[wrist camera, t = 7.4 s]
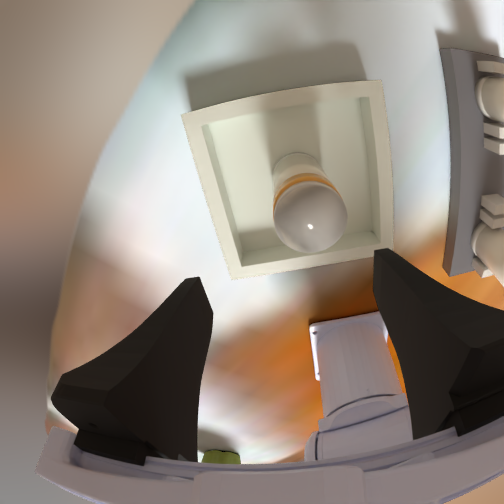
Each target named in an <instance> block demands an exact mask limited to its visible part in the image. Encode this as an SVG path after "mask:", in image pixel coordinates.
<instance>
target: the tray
mask: <svg viewBox="0 0 504 504" xmlns="http://www.w3.org/2000/svg"><path fill="white" fill-rule="evenodd" d="M181 117H182V121H183V124H184V128H185V131H186V135H187V138H188V142H189V145H190V148H191V152H192V155H193V159H194V162H195V165H196V169H197V172H198V175H199V179H200V182H201V185H202V189H203V192H204V195H205V198H206V202H207V205H208V208H209V211H210V215H211V218H212V221H213V224H214V227H215V230H216V234H217V237H218V240H219V243H220V246H221V249H222V252H223V255H224V259H225V262H226V265H227V268H228V271H229V274H230V277H231V280H236V279H242V278H249V277H255V276H262V275H268V274H274V273H281V272H287V271H293V270H299V269H305V268H311V267H317V266H323V265H329V264H335V263H340V262H346V261H352V260H357V259H363V258H369V257H374V250H378V249H384V248H389V249H391V250H392V251H393V233H394V211H393V179H392V162H391V150H390V139H389V129H388V121H387V113H386V106H385V99H384V93H383V87H382V81H381V80H368V81H353V82H342V83H332V84H323V85H315V86H307V87H300V88H294V89H288V90H282V91H276V92H271V93H265V94H260V95H255V96H251V97H246V98H242V99H237V100H233V101H229V102H225V103H221V104H217V105H213V106H209V107H206V108H202V109H199V110H195V111H192V112H188V113H185V114H182V115H181ZM292 152H303V153H307V154H309V155H311V156H313V157H314V158H315V159H316V160H317V161H318V162H319V164H320V165H321V167H322V169H323V170H324V172H325V174H326V175H327V177H328V178H329V180H330V181H331V183H332V184H333V185H334V186H335V188H336V189H337V191H338V192H339V194H340V196H341V198H342V199H343V202H344V204H345V206H346V209H347V215H348V219H347V225H346V229H345V231H344V233H343V235H342V236H341V238H340V239H339V240H338V241H337V242H336V243H335V244H334V245H332V246H331V247H329V248H327V249H325V250H322V251H319V252H313V253H305V252H299V251H296V250H294V249H292V248H290V247H288V246H287V245H285V244H284V243H283V242H282V241H281V240H280V238H279V237H278V235H277V233H276V230H275V226H274V220H273V199H274V198H273V181H272V173H273V169H274V166H275V164H276V163H277V162H278V160H279V159H280V158H282V157H283V156H285V155H286V154H289V153H292Z"/></svg>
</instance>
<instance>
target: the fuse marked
mask: <svg viewBox="0 0 504 504" xmlns="http://www.w3.org/2000/svg"><path fill="white" fill-rule="evenodd" d="M272 181H273V198H274V199H273V220H274V226H275V230H276V233H277V235H278V237H279V238H280V240H281V241H282V242H283V243H284V244H285V245H287V246H288V247H290V248H292V249H294V250H296V251H299V252H305V253H313V252H319V251H322V250H325V249H327V248H329V247H331V246H332V245H334V244H335V243H336V242H337V241H338V240H339V239H340V238H341V236H342V235H343V233H344V231H345V229H346V225H347V219H348V215H347V209H346V206H345V204H344V202H343V199H342V198H341V196H340V194H339V192H338V191H337V189H336V188H335V186H334V185H333V184H332V183H331V181H330V180H329V178H328V177H327V175H326V174H325V172H324V170H323V169H322V167H321V165H320V164H319V162H318V161H317V160H316V159H315V158H314V157H313V156H311V155H309V154H307V153H303V152H292V153H289V154H286V155H285V156H283V157H282V158H280V159H279V160H278V162H277V163H276V164H275V166H274V169H273V173H272Z"/></svg>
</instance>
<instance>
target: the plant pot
mask: <svg viewBox="0 0 504 504" xmlns="http://www.w3.org/2000/svg"><path fill="white" fill-rule="evenodd" d="M201 463H215V464H241V461H240V456H238V455H237V454H234V453H232V452H221V451H218V450H213V451H207V452H205V454H204V456H203V459H202V462H201Z"/></svg>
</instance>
